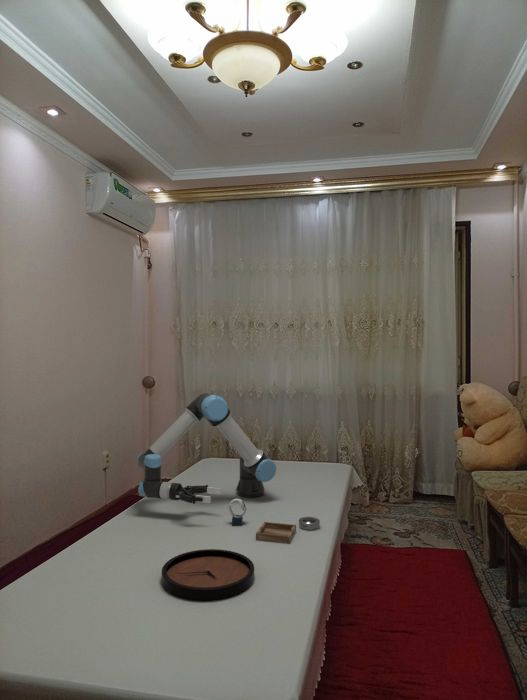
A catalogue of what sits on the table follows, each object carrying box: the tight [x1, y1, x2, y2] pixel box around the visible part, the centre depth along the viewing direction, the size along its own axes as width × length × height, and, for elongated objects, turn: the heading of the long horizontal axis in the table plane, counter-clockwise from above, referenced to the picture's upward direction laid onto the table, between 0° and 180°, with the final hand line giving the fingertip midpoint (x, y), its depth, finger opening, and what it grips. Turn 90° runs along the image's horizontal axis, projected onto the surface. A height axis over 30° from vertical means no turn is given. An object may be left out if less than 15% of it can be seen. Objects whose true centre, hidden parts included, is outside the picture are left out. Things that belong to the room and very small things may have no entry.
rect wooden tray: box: [255, 521, 297, 545], centre depth 215 cm, size 14×14×3 cm
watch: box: [228, 498, 247, 527], centre depth 228 cm, size 6×8×11 cm
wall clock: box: [161, 548, 255, 602], centre depth 176 cm, size 31×4×31 cm
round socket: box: [298, 516, 320, 532], centre depth 225 cm, size 9×9×3 cm
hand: (215, 495), depth 230 cm, fingers open, 13 cm apart
